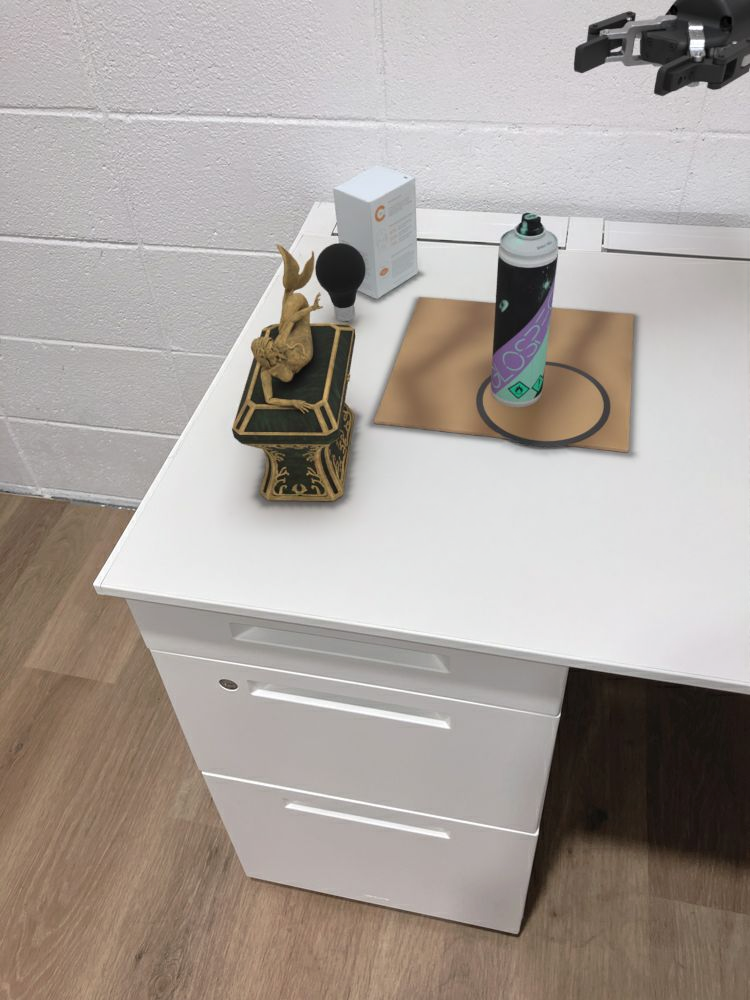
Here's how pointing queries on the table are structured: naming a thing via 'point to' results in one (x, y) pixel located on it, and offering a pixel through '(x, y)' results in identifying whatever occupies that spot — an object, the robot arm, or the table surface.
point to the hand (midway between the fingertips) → (617, 71)
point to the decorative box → (299, 398)
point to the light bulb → (341, 277)
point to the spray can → (523, 311)
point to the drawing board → (468, 367)
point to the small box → (379, 226)
